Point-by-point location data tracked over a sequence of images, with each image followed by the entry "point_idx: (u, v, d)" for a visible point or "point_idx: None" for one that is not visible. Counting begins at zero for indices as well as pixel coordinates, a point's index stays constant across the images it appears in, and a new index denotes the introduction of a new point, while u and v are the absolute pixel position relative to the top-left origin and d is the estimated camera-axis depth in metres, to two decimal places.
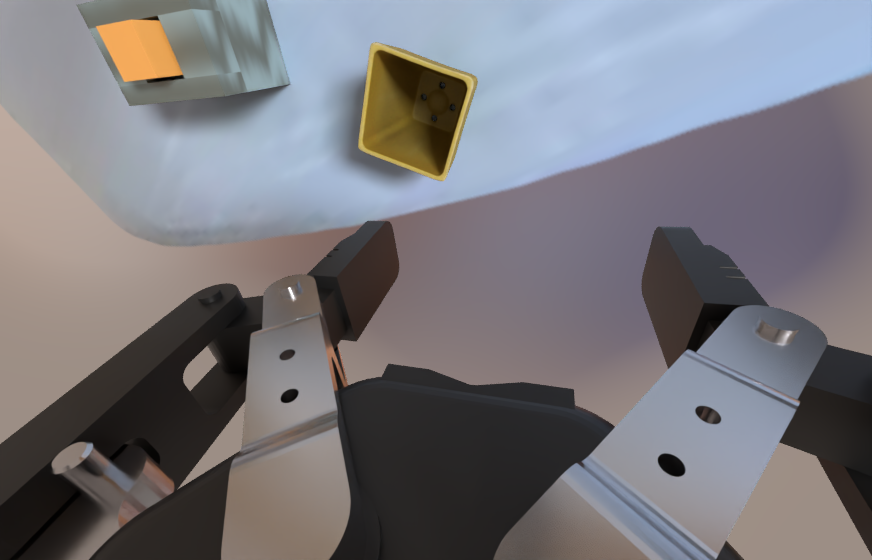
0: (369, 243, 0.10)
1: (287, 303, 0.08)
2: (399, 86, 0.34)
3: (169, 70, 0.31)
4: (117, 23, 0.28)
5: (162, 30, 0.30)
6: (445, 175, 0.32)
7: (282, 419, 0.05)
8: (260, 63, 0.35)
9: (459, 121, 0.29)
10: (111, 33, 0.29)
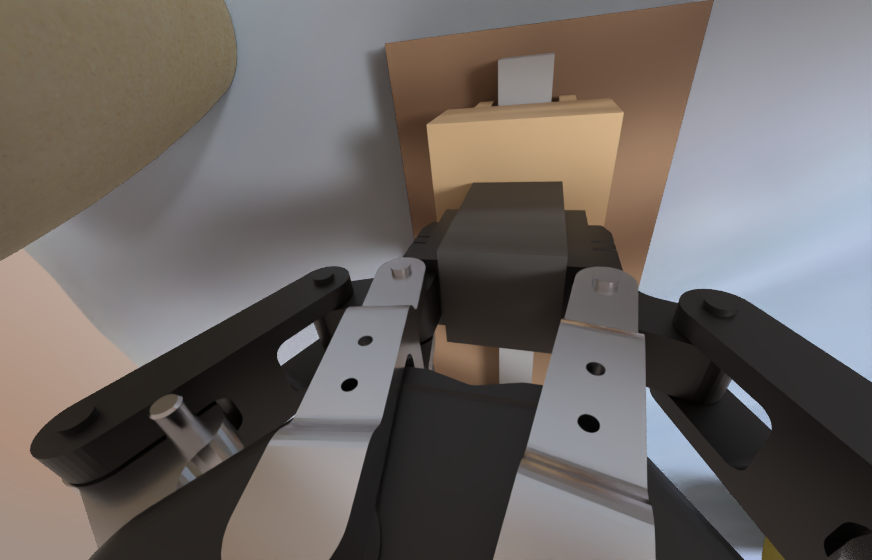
0: None
1: (406, 284, 0.08)
2: None
3: None
4: None
5: None
6: None
7: (333, 406, 0.05)
8: None
9: None
10: None
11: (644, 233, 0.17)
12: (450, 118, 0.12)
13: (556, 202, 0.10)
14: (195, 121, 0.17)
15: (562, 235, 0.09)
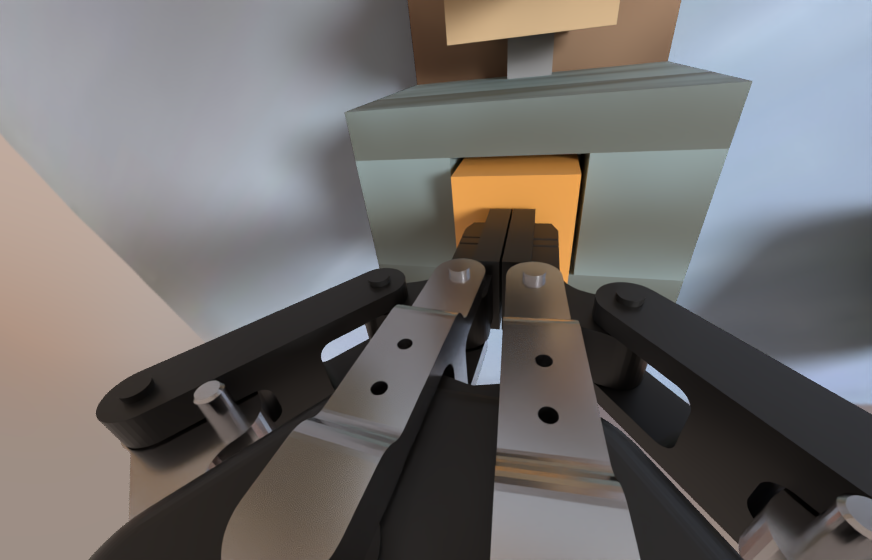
0: (507, 229, 0.10)
1: (468, 287, 0.08)
2: None
3: None
4: (527, 177, 0.11)
5: None
6: None
7: (358, 408, 0.05)
8: None
9: None
10: (491, 194, 0.11)
11: None
12: None
13: None
14: None
15: None
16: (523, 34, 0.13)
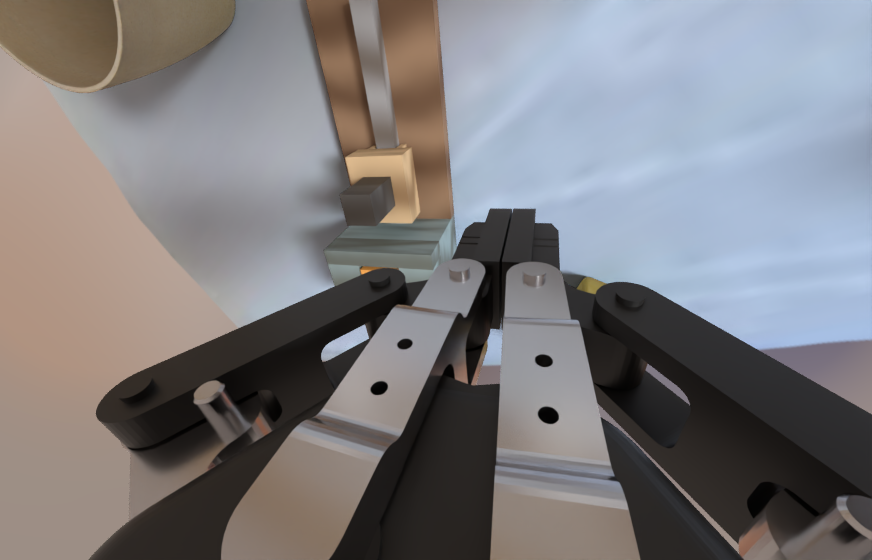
0: (507, 230, 0.10)
1: (469, 287, 0.08)
2: None
3: None
4: None
5: None
6: None
7: (358, 407, 0.05)
8: None
9: None
10: None
11: (436, 90, 0.34)
12: (354, 154, 0.35)
13: (381, 182, 0.33)
14: (214, 36, 0.34)
15: (373, 190, 0.31)
16: (384, 222, 0.38)
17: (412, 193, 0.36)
